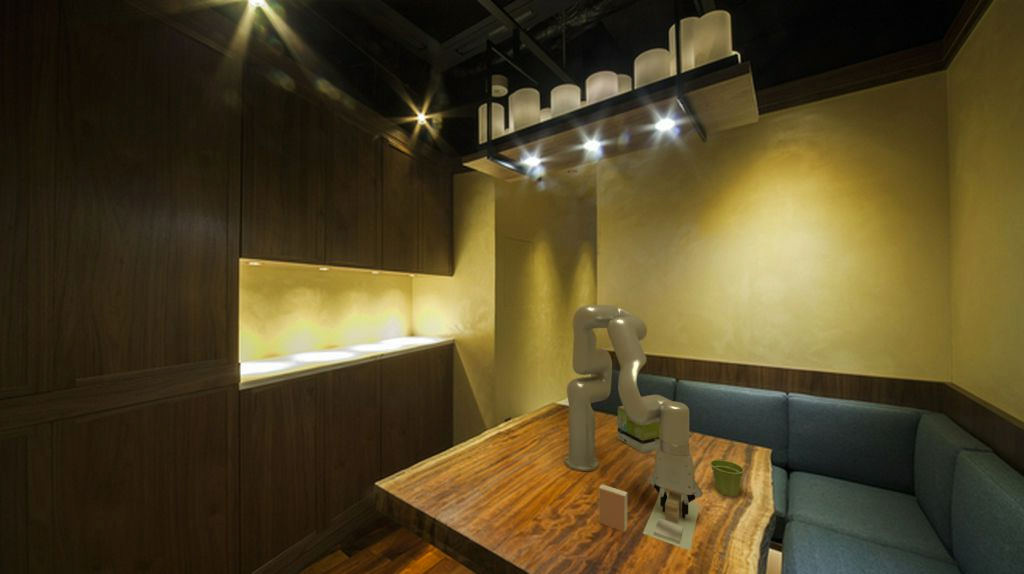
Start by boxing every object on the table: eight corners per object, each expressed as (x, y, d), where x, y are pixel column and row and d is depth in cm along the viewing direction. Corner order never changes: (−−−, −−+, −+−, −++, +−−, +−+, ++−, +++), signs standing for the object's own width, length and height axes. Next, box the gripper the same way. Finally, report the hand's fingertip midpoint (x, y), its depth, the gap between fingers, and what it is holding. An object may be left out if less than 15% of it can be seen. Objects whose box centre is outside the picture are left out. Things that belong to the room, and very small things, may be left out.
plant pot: (703, 486, 116) (703, 459, 116) (730, 485, 117) (730, 459, 117) (722, 502, 107) (722, 473, 107) (751, 501, 107) (751, 472, 108)
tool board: (660, 494, 110) (660, 491, 111) (699, 506, 104) (699, 503, 104) (642, 536, 90) (642, 533, 90) (690, 554, 84) (690, 550, 84)
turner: (668, 497, 107) (668, 480, 108) (689, 503, 104) (689, 486, 104) (653, 534, 90) (653, 515, 90) (679, 544, 87) (679, 523, 87)
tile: (601, 521, 96) (601, 484, 97) (627, 530, 93) (627, 492, 93) (598, 525, 95) (598, 487, 95) (624, 535, 91) (625, 496, 91)
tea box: (616, 439, 154) (616, 405, 154) (633, 436, 158) (634, 403, 159) (642, 453, 140) (642, 416, 141) (660, 449, 144) (660, 413, 145)
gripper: (640, 444, 101) (640, 508, 100) (707, 459, 92) (707, 531, 91) (646, 436, 107) (646, 496, 107) (709, 449, 98) (709, 516, 97)
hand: (674, 511), depth 99 cm, fingers open, 4 cm apart
